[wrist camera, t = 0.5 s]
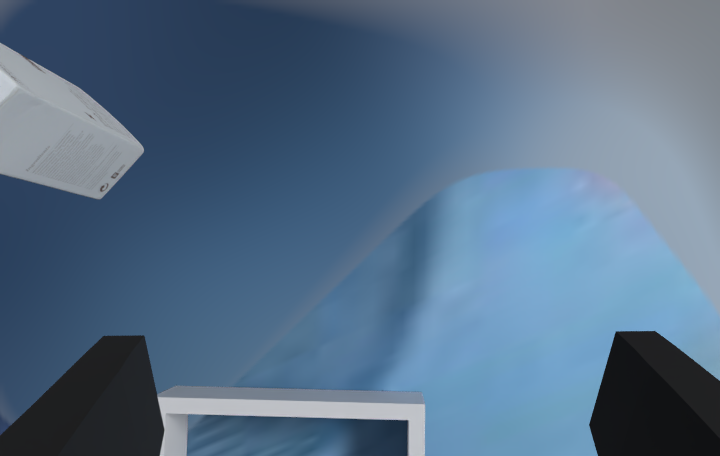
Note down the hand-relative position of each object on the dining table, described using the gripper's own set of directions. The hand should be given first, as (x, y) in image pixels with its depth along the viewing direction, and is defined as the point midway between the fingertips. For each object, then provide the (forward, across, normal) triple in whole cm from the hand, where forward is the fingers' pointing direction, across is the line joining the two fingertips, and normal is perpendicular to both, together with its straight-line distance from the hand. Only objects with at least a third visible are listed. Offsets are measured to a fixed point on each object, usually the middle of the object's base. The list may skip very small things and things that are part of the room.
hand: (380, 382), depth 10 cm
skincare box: (+28, +16, +8) cm, 33 cm away
